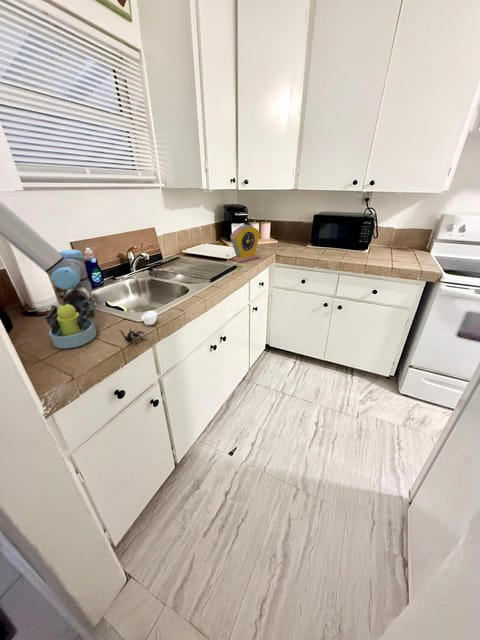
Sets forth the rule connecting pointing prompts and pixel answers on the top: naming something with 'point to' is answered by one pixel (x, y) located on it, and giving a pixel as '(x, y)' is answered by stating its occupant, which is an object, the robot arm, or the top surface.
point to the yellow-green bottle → (68, 320)
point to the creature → (131, 335)
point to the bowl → (74, 336)
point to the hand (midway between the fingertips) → (66, 327)
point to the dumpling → (149, 317)
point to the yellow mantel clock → (245, 243)
